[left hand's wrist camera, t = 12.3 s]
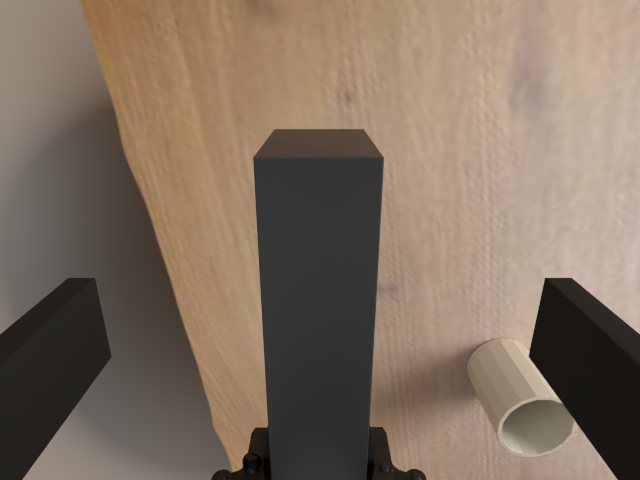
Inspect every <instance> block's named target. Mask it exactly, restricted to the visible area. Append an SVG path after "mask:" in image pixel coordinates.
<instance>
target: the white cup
mask: <svg viewBox="0 0 640 480" xmlns="http://www.w3.org/2000/svg"><path fill="white" fill-rule="evenodd" d="M529 352H530V350H529V349H528V348H527V347H526V346H525V345H524V344H523V343H521V342H519V341H517V340H514V339H509V338H500V339H495V340H491V341H488V342H486V343H484V344H482V345H481V346H479V347H478V348H477V349H476V350H475V351H474V352H473V353H472V355H471V356H470V358H469V360H468V363H467V375H468V378H469V380H470V382H471V385H472V387H473V389H474V391H475V393H476V395H477V397H478V399H479V401H480V403H481V405H482V407H483V410H484V412H485V414H486V416H487V418H488V420H489V422H490V424H491V426H492V428H493V430H494V432H495V434H496V436H497V438H498V440H499V442H500V444H501V446H503V447H504V448H505V449H506V450H507V451H508V452H509V453H512V454H515V455H518V456H521V457H540V456H544V455H547V454H551V453H554V452H555V451H557V450H558V449H560V448H561V447H563V446H565V445H566V444H567V443H568V442H569V440H570V439H571V438H572V437H573V435H574V434H575V431H576V428H577V423H576V421H575V420H574V419H573V417H572V416H571V414H570V413H569V412H568V410H567V409H566V408H565V406H564V405H563V403H562V402H561V401H560V399H559V398H558V397H557V395H556V394H555V392H554V391H553V390H552V388H551V387H550V386H549V384H548V383H547V381H546V380H545V379H544V377H543V376H542V375H541V373H540V372H539V370H538V369H537V368H536V366H535V365H534V364H533V362H532V361H531V359H530V358H529Z"/></svg>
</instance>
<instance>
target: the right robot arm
mask: <svg viewBox="0 0 640 480" xmlns="http://www.w3.org/2000/svg"><path fill="white" fill-rule="evenodd" d="M212 480H271V465H270V447H269V429H268V428H255V429H254V431H253V432H252V434H251V440H250V445H249V450H248V453H247V454H246V455H245V456H244V457H243V468H242V469H240V470H239V471H236V472H233V473H231V472H230V471H228V470H219V471H217V472H216V473H215V474H214V475H213V477H212ZM366 480H426V477H425V474H424V473H423V472H422V471H420V470H418V469H410V470H409V471H407V472H404V471H401V470H398V469H397V468H395V467H394V465H393V464H392V461H391V456H390V451H389V445H388V440H387V434H386V432H385V430H384V429H383V427H370V423H369V438H368V456H367V474H366Z"/></svg>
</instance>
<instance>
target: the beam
mask: <svg viewBox="0 0 640 480" xmlns="http://www.w3.org/2000/svg"><path fill="white" fill-rule="evenodd" d="M253 160H254V178H255V196H256V214H257V232H258V250H259V268H260V286H261V304H262V322H263V339H264V357H265V375H266V393H267V411H268V429H269V447H270V465H271V480H366V474H367V456H368V438H369V420H370V402H371V384H372V366H373V348H374V330H375V312H376V294H377V276H378V258H379V240H380V222H381V204H382V186H383V168H384V157H383V156H382V154H381V153H380V152H379V150H378V149H377V147H376V146H375V145H374V143H373V142H372V140H371V139H370V138H369V136H368V135H367V133H366V132H365V131H364V130H363V129H275V130H274V131H273V132H272V134H271V135H270V136H269V138H268V139H267V140H266V142H265V143H264V144H263V146H262V147H261V148H260V150H259V151H258V152H257V154H256V155H255V156H254V158H253Z"/></svg>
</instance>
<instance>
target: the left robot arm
mask: <svg viewBox="0 0 640 480" xmlns="http://www.w3.org/2000/svg"><path fill="white" fill-rule="evenodd" d="M110 358H111V352H110V348H109V343H108V338H107V334H106V329H105V324H104V319H103V315H102V310H101V305H100V300H99V296H98V291H97V286H96V282H95V278H68V279H67V280H65V281H64V282H63V283H62V284H61V285H60V286H58V287H57V288H56V289H55V290H54V291H52V292H51V293H50V294H49V295H47V296H46V297H45V298H44V299H43V300H41V301H40V302H39V303H38V304H37V305H35V306H34V307H33V308H32V309H30V310H29V311H28V312H27V313H26V314H24V315H23V316H22V317H21V318H20V319H18V320H17V321H16V322H15V323H14V324H12V325H11V326H10V327H9V328H8V329H6V330H5V331H4V332H3V333H1V334H0V480H22V479H23V478H24V476H25V475H26V474H27V472H28V471H29V470H30V468H31V467H32V465H33V464H34V463H35V461H36V460H37V458H38V457H39V456H40V454H41V453H42V452H43V450H44V449H45V448H46V446H47V445H48V443H49V442H50V441H51V439H52V438H53V437H54V435H55V434H56V432H57V431H58V430H59V428H60V427H61V425H62V424H63V423H64V421H65V420H66V419H67V417H68V416H69V414H70V413H71V412H72V410H73V409H74V408H75V406H76V405H77V403H78V402H79V401H80V399H81V398H82V396H83V395H84V394H85V392H86V391H87V390H88V388H89V387H90V386H91V384H92V383H93V381H94V380H95V379H96V377H97V376H98V375H99V373H100V372H101V370H102V369H103V368H104V366H105V365H106V364H107V362H108V361H109V359H110ZM529 358H530V359H531V361H532V362H533V364H534V365H535V366H536V368H537V369H538V370H539V372H540V373H541V375H542V376H543V377H544V379H545V380H546V381H547V383H548V384H549V386H550V387H551V388H552V390H553V391H554V392H555V394H556V395H557V397H558V398H559V399H560V401H561V402H562V403H563V405H564V406H565V408H566V409H567V410H568V412H569V413H570V414H571V416H572V417H573V419H574V420H575V421H576V423H577V424H578V425H579V427H580V428H581V430H582V431H583V432H584V434H585V435H586V437H587V438H588V439H589V441H590V442H591V443H592V445H593V446H594V448H595V449H596V450H597V452H598V453H599V454H600V456H601V457H602V459H603V460H604V461H605V463H606V464H607V465H608V467H609V468H610V470H611V471H612V472H613V474H614V475H615V476H616V478H617V479H618V480H640V334H639V333H637V332H636V331H635V330H634V329H632V328H631V327H630V326H629V325H628V324H626V323H625V322H624V321H623V320H622V319H620V318H619V317H618V316H617V315H616V314H614V313H613V312H612V311H611V310H610V309H608V308H607V307H606V306H605V305H603V304H602V303H601V302H600V301H599V300H597V299H596V298H595V297H594V296H593V295H591V294H590V293H589V292H588V291H587V290H585V289H584V288H583V287H582V286H581V285H579V284H578V283H577V282H576V281H574V280H573V279H572V278H545V282H544V286H543V291H542V296H541V300H540V305H539V310H538V315H537V319H536V324H535V329H534V333H533V338H532V343H531V348H530V352H529Z"/></svg>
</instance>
